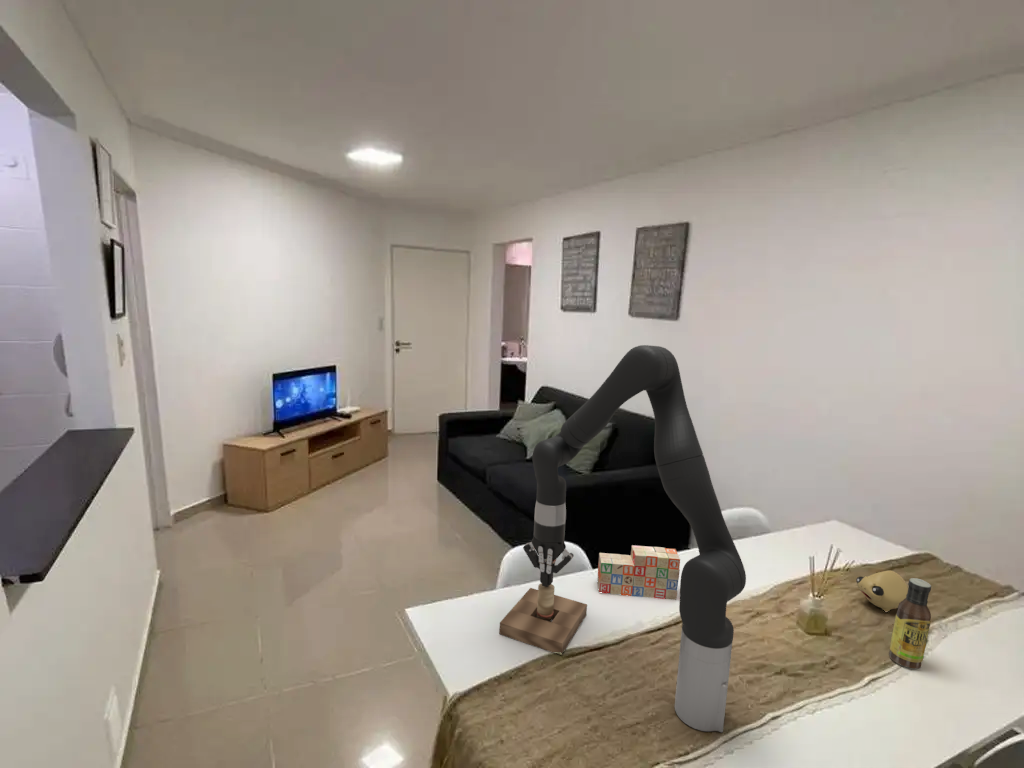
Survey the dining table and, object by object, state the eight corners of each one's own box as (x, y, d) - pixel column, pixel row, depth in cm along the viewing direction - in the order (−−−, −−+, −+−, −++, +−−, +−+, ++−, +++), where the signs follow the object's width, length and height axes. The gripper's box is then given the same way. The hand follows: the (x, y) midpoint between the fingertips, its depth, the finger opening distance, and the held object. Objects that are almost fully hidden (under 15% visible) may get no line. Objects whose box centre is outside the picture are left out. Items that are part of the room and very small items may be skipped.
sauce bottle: (899, 669, 118) (912, 588, 115) (882, 651, 124) (894, 573, 121) (929, 672, 117) (943, 590, 114) (910, 654, 123) (923, 576, 120)
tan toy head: (846, 598, 147) (851, 563, 146) (883, 596, 149) (888, 561, 147) (875, 618, 138) (880, 581, 136) (914, 616, 139) (920, 579, 138)
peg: (555, 622, 131) (557, 585, 129) (549, 631, 127) (551, 593, 125) (540, 617, 132) (541, 581, 131) (533, 626, 129) (535, 588, 127)
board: (586, 615, 134) (587, 604, 134) (561, 655, 118) (562, 643, 118) (529, 598, 141) (530, 587, 141) (499, 634, 125) (499, 622, 125)
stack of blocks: (598, 593, 145) (601, 552, 143) (596, 582, 151) (599, 542, 149) (677, 600, 143) (680, 558, 141) (672, 588, 149) (675, 548, 147)
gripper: (518, 518, 125) (515, 584, 128) (570, 530, 119) (566, 600, 122) (531, 507, 132) (528, 571, 134) (580, 518, 126) (576, 585, 129)
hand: (546, 585), depth 128 cm, fingers closed
